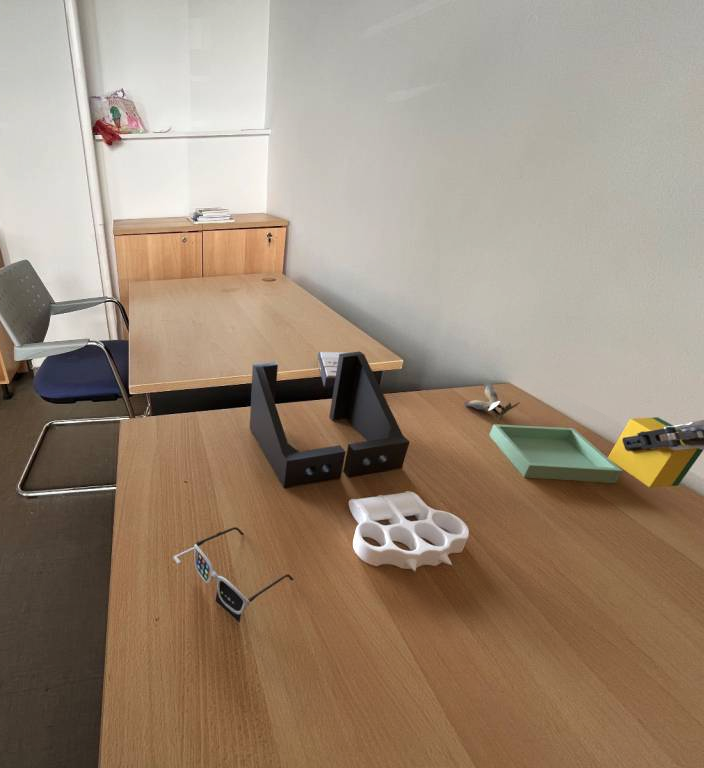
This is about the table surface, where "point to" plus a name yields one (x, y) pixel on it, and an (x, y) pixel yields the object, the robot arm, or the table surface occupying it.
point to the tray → (553, 454)
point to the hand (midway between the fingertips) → (641, 443)
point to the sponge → (653, 456)
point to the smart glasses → (223, 580)
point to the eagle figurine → (490, 402)
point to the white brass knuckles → (405, 531)
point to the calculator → (328, 367)
